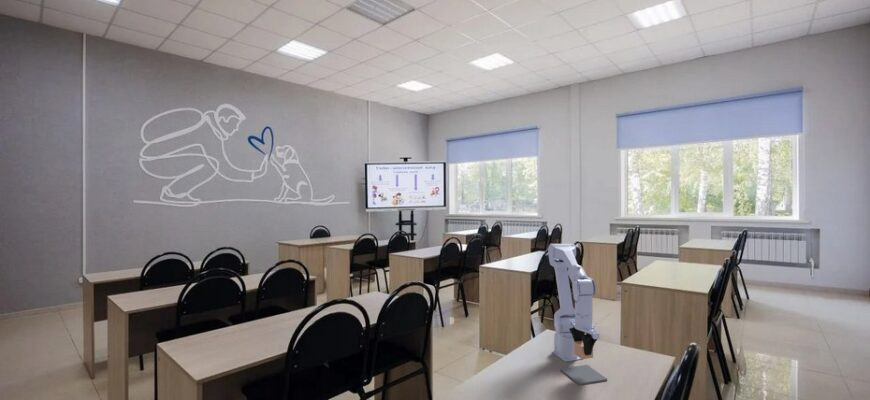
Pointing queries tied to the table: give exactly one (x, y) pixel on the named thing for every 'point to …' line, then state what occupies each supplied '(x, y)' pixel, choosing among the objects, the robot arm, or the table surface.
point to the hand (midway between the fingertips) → (583, 351)
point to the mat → (583, 374)
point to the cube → (581, 350)
